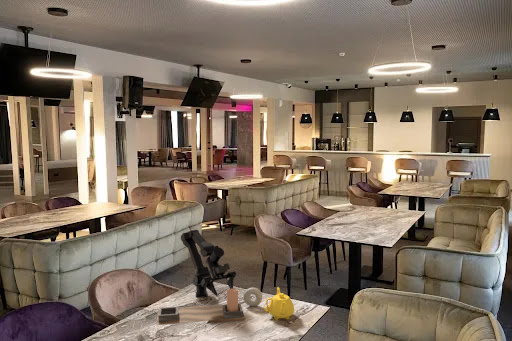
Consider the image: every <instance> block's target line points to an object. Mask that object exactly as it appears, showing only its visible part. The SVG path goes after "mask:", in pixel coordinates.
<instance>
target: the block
mask: <svg viewBox="0 0 512 341" xmlns="http://www.w3.org/2000/svg"><path fill="white" fill-rule="evenodd" d="M226 304H227V312H230V311H238V304H239V290H238V289H236V288H235V287H233V288H232V289H230V288H228V289H227V290H226Z"/></svg>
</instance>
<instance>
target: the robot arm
mask: <svg viewBox="0 0 512 341" xmlns="http://www.w3.org/2000/svg"><path fill="white" fill-rule="evenodd" d="M180 240H181V242H182V244H183V245H184V247H186V248H187V250H188V251H189V256H190V258H191V262H192V265H193V267H194V270H195V271H194V277H193V279H192V285H193V286H195V287H196V288H195V289H196V290H195V298H198V297H200V298H202V297H208V296H209V295H208V290H209V291H210V292H211V293H213V295H215V297H217V296H218V292H217V289H216V287H215V284H214V282H218V281H222V280H226V284H227V286H228V289H232V288H234V279H235V278H236V277H237V276H238V274H237V272H236V271H235V270H231V271H230V269H231V266H230V264H229V262H228V263H227V262H226V263H224V264H223V265H221V264H220V263H219V262H220V261H221V259H222V258H223V257H224V256H225V250H224V249H223V248H221V247H220V246H218V245H214V244H213V243H212V242H208V241H207V240H206V239H205V238H204V236H202V234H201V233H200V231H199V230H198V229H192V230H188V231H187V232H182V233H181V235H180ZM197 246H198V247H197ZM198 248H199V250H198ZM200 255H201V256H202V257H204V258H205V257H206V260H205V264H206V265H207V266H205V265H204V263H203V261H202V258H201V256H200ZM228 270H229V271H228ZM226 272H227V273H226ZM207 289H208V290H207Z"/></svg>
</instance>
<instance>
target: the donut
mask: <svg viewBox="0 0 512 341" xmlns="http://www.w3.org/2000/svg"><path fill="white" fill-rule="evenodd" d="M251 295H254V296H255V298H254V299H252V298H251ZM242 298H243V301H244V303H245V304H246V305H247V306H249V307H256V306H259V305H260V304H261V303H262V301H263V293H262V291H261V290H260V289H259V288H257V287H249V288H247V289H245V291H244V293H243V297H242Z"/></svg>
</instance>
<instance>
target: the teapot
mask: <svg viewBox="0 0 512 341" xmlns="http://www.w3.org/2000/svg"><path fill="white" fill-rule="evenodd" d="M280 289H281V288H280V287H279V286H277V287H276V294H275V295H273V296H272V297H268V298H267V299H265V305H266V306H265V307H264V312H267V313H269V314H270V315H271V316H272V317H273V319H274V320H275V321H278V320H279V319H285V320H291V317H292V315H293V314H294V313H295V305H294V303H293V301H292V299H291V297H290V296H288V294H285V293H283V292H282V293H281V290H280ZM269 301H270V302H269ZM268 302H269V303H268Z"/></svg>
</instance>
